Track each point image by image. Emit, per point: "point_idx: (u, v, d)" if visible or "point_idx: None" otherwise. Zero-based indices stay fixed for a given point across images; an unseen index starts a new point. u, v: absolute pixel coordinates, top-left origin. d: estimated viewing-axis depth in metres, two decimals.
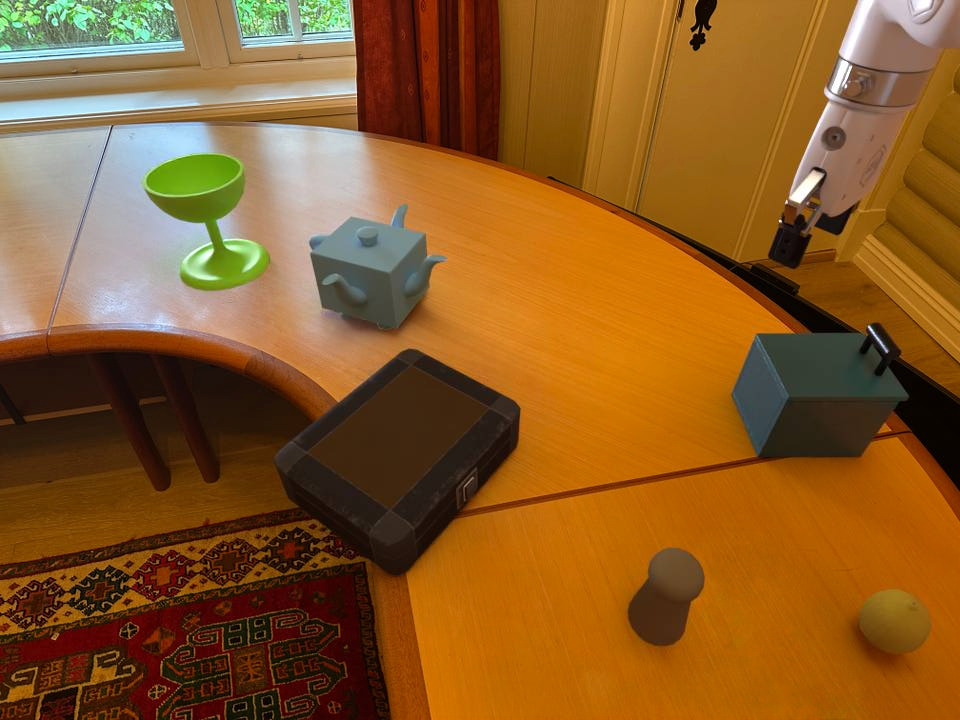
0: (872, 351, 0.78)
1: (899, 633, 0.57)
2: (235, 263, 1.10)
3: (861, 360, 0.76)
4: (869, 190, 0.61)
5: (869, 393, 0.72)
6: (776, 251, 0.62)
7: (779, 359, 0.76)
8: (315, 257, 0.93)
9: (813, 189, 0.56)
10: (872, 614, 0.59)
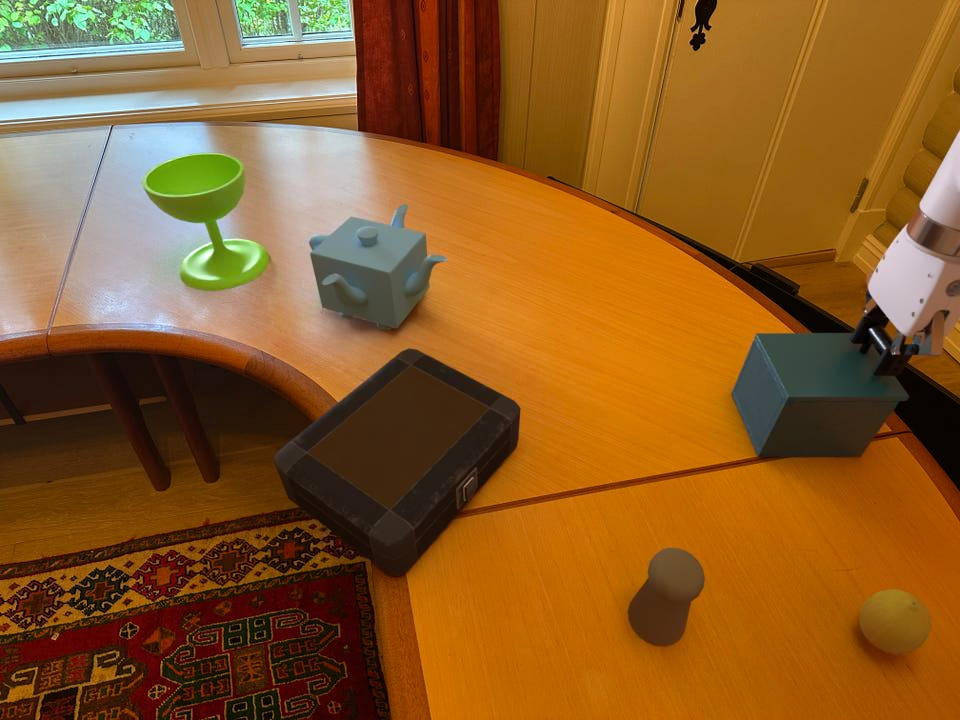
0: (872, 351, 0.78)
1: (899, 633, 0.57)
2: (235, 263, 1.10)
3: (861, 360, 0.76)
4: None
5: (869, 393, 0.72)
6: (888, 371, 0.72)
7: (779, 359, 0.76)
8: (315, 257, 0.93)
9: (942, 333, 0.65)
10: (872, 614, 0.59)
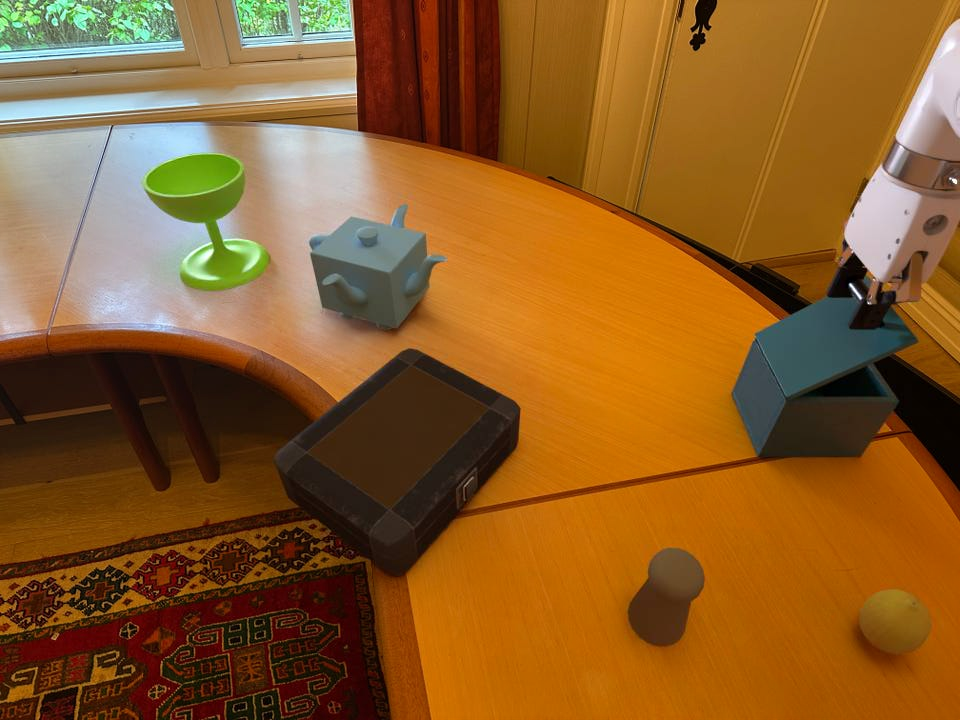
0: None
1: (899, 633, 0.57)
2: (235, 263, 1.10)
3: None
4: None
5: (871, 354, 0.68)
6: (865, 323, 0.66)
7: (777, 355, 0.76)
8: (315, 257, 0.93)
9: (920, 276, 0.60)
10: (872, 614, 0.59)
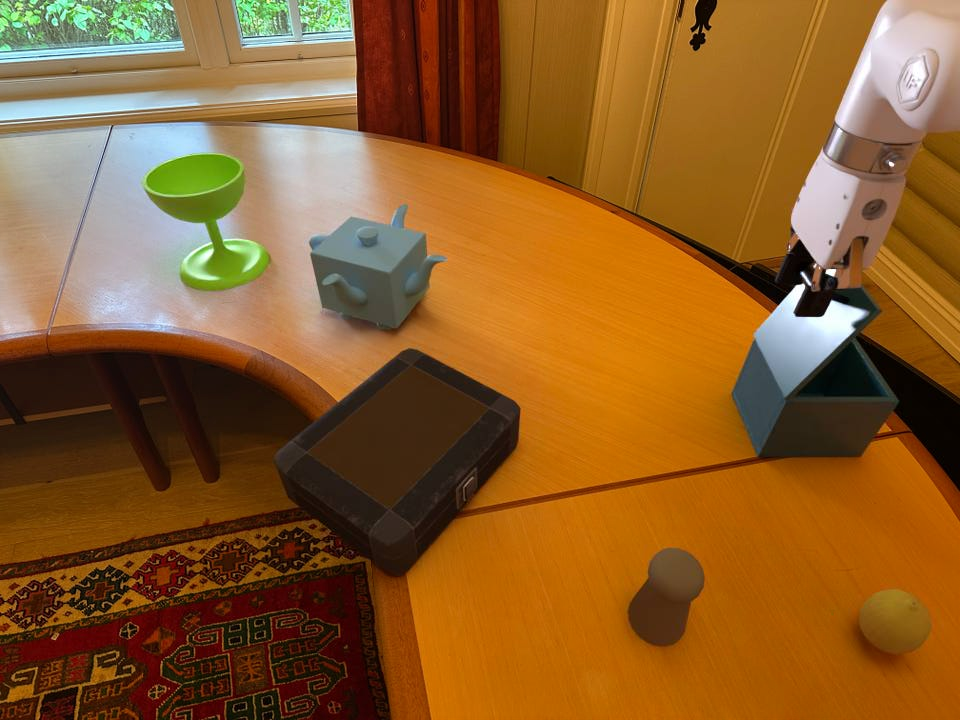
0: None
1: (899, 633, 0.57)
2: (235, 263, 1.10)
3: None
4: None
5: (843, 336, 0.66)
6: (810, 310, 0.65)
7: (772, 354, 0.76)
8: (315, 257, 0.93)
9: (861, 262, 0.59)
10: (872, 614, 0.59)
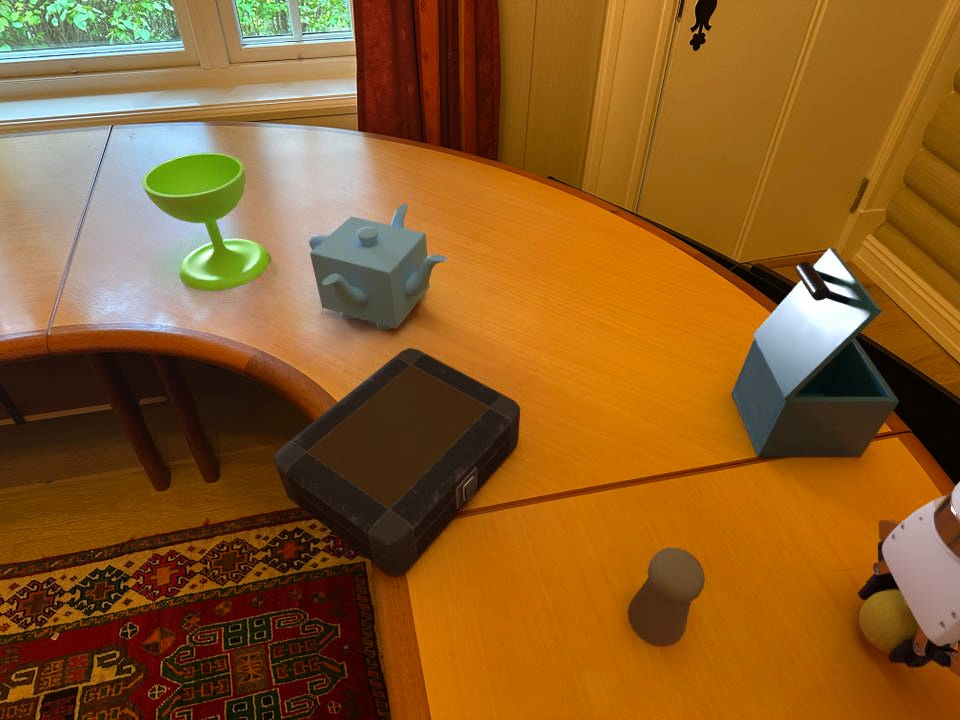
0: (839, 269, 0.69)
1: (899, 633, 0.57)
2: (235, 263, 1.10)
3: None
4: None
5: (843, 336, 0.66)
6: (910, 664, 0.57)
7: (772, 354, 0.76)
8: (315, 257, 0.93)
9: None
10: (872, 613, 0.59)
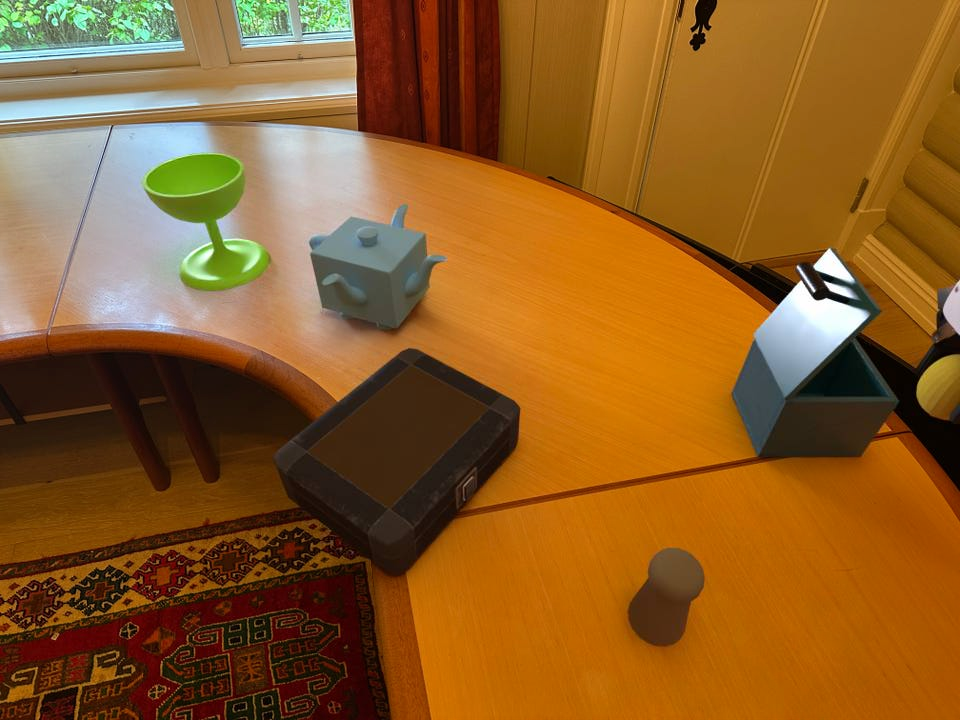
0: (839, 269, 0.69)
1: None
2: (235, 263, 1.10)
3: None
4: None
5: (843, 336, 0.66)
6: None
7: (772, 354, 0.76)
8: (315, 257, 0.93)
9: None
10: (933, 377, 0.59)
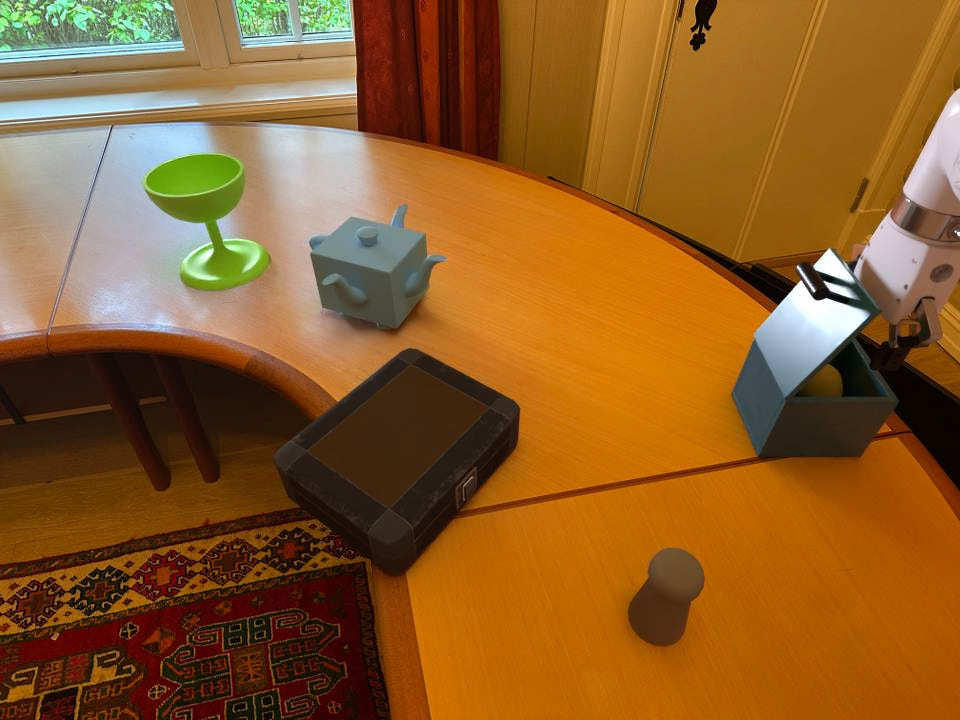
0: (839, 269, 0.69)
1: (817, 382, 0.79)
2: (235, 263, 1.10)
3: None
4: None
5: (843, 336, 0.66)
6: (886, 365, 0.68)
7: (772, 354, 0.76)
8: (315, 257, 0.93)
9: (936, 315, 0.62)
10: None
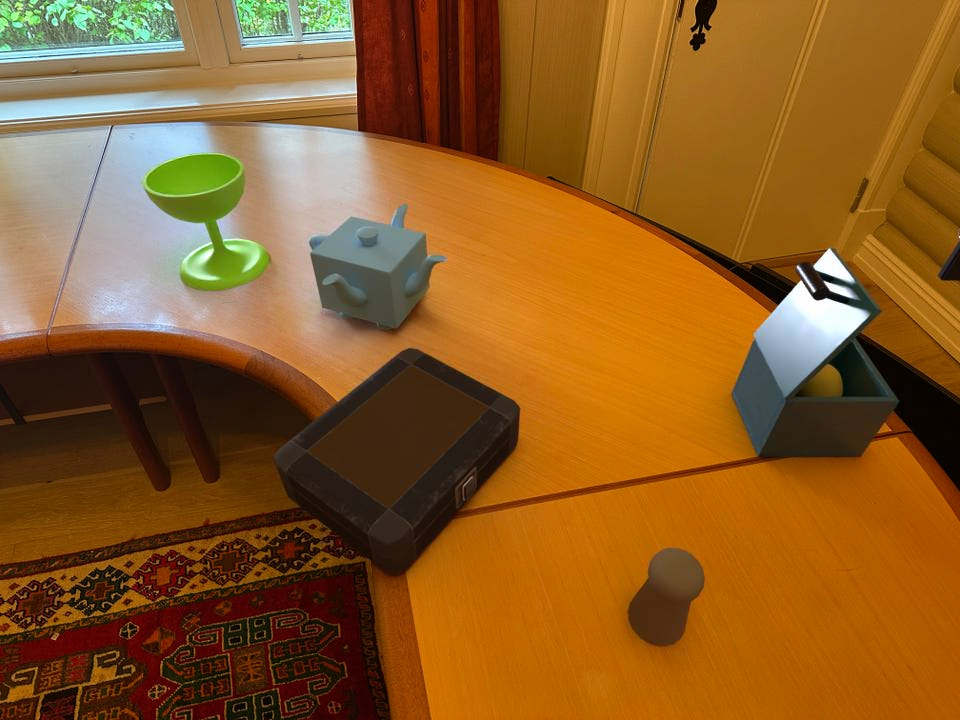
0: (839, 269, 0.69)
1: (817, 382, 0.79)
2: (235, 263, 1.10)
3: None
4: None
5: (843, 336, 0.66)
6: None
7: (772, 354, 0.76)
8: (315, 257, 0.93)
9: None
10: None
